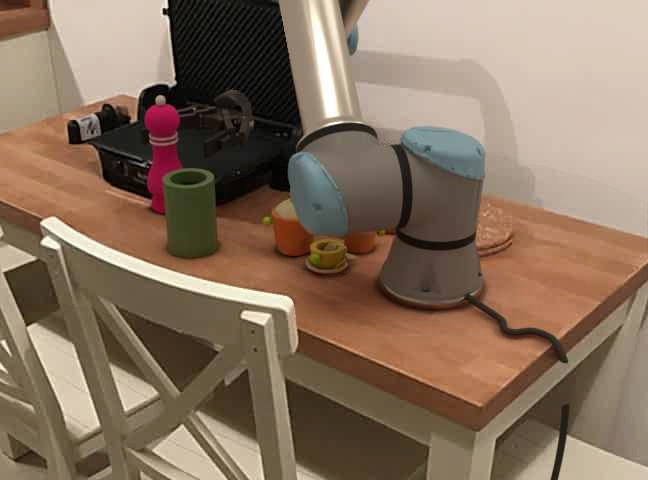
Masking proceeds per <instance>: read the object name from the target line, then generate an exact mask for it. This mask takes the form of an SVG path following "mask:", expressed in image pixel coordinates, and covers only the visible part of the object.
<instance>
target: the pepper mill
mask: <svg viewBox="0 0 648 480" xmlns="http://www.w3.org/2000/svg"><path fill="white" fill-rule="evenodd" d="M166 102H167V101H166V97H165V96H164V95H160V94H159V95H157V96H156V97H155V104H154V105H152V106H150V107H149V108H148V109H147V110H146V112H145V114H144V125H145V127H146V128H147V129H148V130H149V131H150V132H151V133H150V134H149V137H150V140H149V141H150V143H149V144H150V145H152V162H151V166H150V169H149V170H148V171H149V172H148V175H147V180H146V181H147V189H148V191H149V193H150V194H151V195H152V197H151V208H152V210H153V211H155V212H156V213H159V214H165V204H164V192H163V181H162V178H163V177H164V176H165V174H167V173H169V172H172V171H174V170H179V169H184V167H183V165H182V163H181V161H180V159H179V155H178V150H177V143H178V142H179V137H178V135H179V132H178V131H177V130H176V129H177V128H178V126H179V124H180V118H179V114H178V112H177V110H178V109H176V108H175V107H174V106H173V105H171V104H167V103H166Z"/></svg>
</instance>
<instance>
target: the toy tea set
mask: <svg viewBox="0 0 648 480" xmlns="http://www.w3.org/2000/svg"><path fill="white" fill-rule="evenodd" d="M262 225H263V226H264V227H270V226H272V227H273V231H274V239H275V245H276V249H277V251H278V252H279V253H280V254H283V255H285V256H289V257H290V256H292V257H296V256H297V257H298V256H303V255H306V254H308V253H310V255H308V257H306V259H305V266H306V268H307V269H309V270H310V271H312V272H315V273H318V274H336V273H339V272H342V271H343V270H345V269H346V268H347V267H348V265H349V263H354V262H356V259H357V258H356V256H355V255H354V254H366V253H368V252H370V251H372V250H373V248H374V245H375V241H376V237H377V236H378V237H383V236H384V235H385V234H386V233H387V234H395V231H396V229H393V230H383V231H374V232H366V233H357V234H349V235H343V236H341V237H338V239H339V240H337V239H332V238H331V239H330V238H323V239H318V240H315V241H314V238H315V236H314V235H311V234H310V233H308V232H307V231H306V230H305V229H304V228H303V226H302V225H301V223H300V221H299V219H298V217H297V215H296V212H295V209H294V206H293V202H292V198H291V195H290V196H289V198H288V199H285V200H283V201H282V202H280V203H279V204H278V205H276V206H274V207H273V209H272V210H271V217H269V216H265V217H263V220H262ZM340 240H343V241H344V242H342V241H340ZM347 251H349V252H351V253H348V252H347ZM352 253H353V254H352Z"/></svg>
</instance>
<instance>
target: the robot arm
mask: <svg viewBox="0 0 648 480" xmlns="http://www.w3.org/2000/svg"><path fill="white" fill-rule="evenodd" d="M273 1H274V2H276V3H278V5H279V11H280V12H281V16H282V21H283V26H284V32H285V37H286V42H287V48H288V53H289V59H290V61H289V63H290V69H291V75H292V79H293V86H294V90H295V95H296V100H297V106H298V107H297V108H298V111H299V117H300V122H301V127H302V134H303V136H302V137H301V138H300V140H299V141H298V142H297V143H296V146H295V153H294V154H292V156H291V157H290V158H289V161H288V165H287V167H288V168H287V179H288V183H289V186H290V188H289V193H290V196H291V198H292V202H293V206H294V209H295V212H296V215H297V217H298V219H299V221H300V223H301V225H302V226H303V228H304V229H305V230H306V231H307V232H308V233H310V234H311V235H314V237H331V236H332V237H338V238H339V237H341V236H343V235H349V234H357V233H366V232H374V231H383V230H393V229H396V231H395V233H394V237H393V240H392V243H391V246H390V248H389V251H388V254H387V256H386V259H385V260H384V262H383V264H382V266H381V269H380V272H379V273H380V274H379V287H380V289H381V291H382V292H383V294H385V295H386V296H387V297H388V298H390V299H391V300H393V301H395V302H397V303H400V304H402V305H404V306H408V307H412V308H417V309H424V310H449V309H455V308H458V307H459V308H460V307H462V306H463V307H464V306H466V305H469V304H471V305H472V306H474V307H475V308H477V309H478V310H480V311H482V312H483V313H484V314H486V315H487V316H489V317H490V318H492V319H494V320H495V321H496V322H497V323H498V324H499V330H500V332H501V333H502V334H504V335H507V336H510V337H520V336H529V335H530V336H535V337H539V338H542V339H544V340H546V341H548V342H549V343H550V344H551V345H552V347H553V349H554V351H555V353H556V355H557V357H558V359H559V362H560V363H562V364H568V363H569V359H568V356H567V353H566V351H565V349H564V347H563V346H562V344H561V342H560V340H559V339H558V338H557V336H555V335H553V334H552V333H550V332H548V331H546V330H544V329H540V328H536V327H529V326H528V327H521V328H511V327H508V322H507V320H506V318H505V317H503V316H502V315H501V314H500V313H498V312H497V311H496V310H494V309H492V308H491V307H489V306H488V305H486V304H485V303H484V302H482V301H481V300H480V299H478V298H479V297H480V295H481V293H482V290H483V285H484V274H483V273H484V272H483V269H482V265H481V260H480V259H481V258H480V255H479V250H478V246H477V240H476V239H477V232H478V231H477V230H478V224H479V218H480V217H479V216H480V209H481V201H482V195H483V187H484V180H485V179H486V172H485V168H486V167H485V165H486V150H485V147H484V146H483V144H482V143H481V142H480V141H479V140H478V139H476V138H475V137H473V136H472V135H469V134H467V133H465V132H462V131H459V130H456V129H452V128H447V127H441V126H433V125H432V126H431V125H420V126H419V125H418V126H413V127H410V128H407V129H405V130H404V131H403V133H402V134H401V136H400V143H396V144H385V145H384V144H383V145H380V142H379V137H378V133H377V130H376V128H375V127H374V126H372V124H370V123H367V122H366V121H364V120H363V119H364V118H363V114H362V109H361V105H360V99H359V95H358V90H357V85H356V79H355V75H354V70H353V65H352V61H351V56H353V55H355V53H356V52H357V49H358V44H359V38H360V37H359V26H358V22H359V20H360V18H361V17H362V15H363V13H364V11H365V9H366V7H367V6H368V4H369V2H370V0H273ZM229 90H230V91H229ZM229 90H227V91H225V92H223V93H221V94H219V95H218V96H216V98H214V100H213V102H212V103H211V106H208V107H206V108H201V109H199V106H198V105H197V104H193V105H191V106H188V107H185V108H180V109H176V110H177V112H178V114H179V118H180V124H179V126H178V128H177V129H176V131H182V130H183V131H184V130H190V129H195V130H197V131H201V130H202V131H203V130H217V131H219V130H220V132H218V133H216V134H215V135H213V136H211V137H209V138H207V139H206V140H204V141H203V142H202V145H203V157H204V158H207V159H208V158H210V157H212V156H213V155H216V154H217V153H218V152H220V151H222V150H223V149H227V148H228V147H230V146H231V147H234V146H236V145H237V144H239V146H240V147H246V146H247V144H248V139H249V136H250V133H251V132H252V131H253V130H254V129H255V125H254V124H255V122H254V116H253V115H252V108H251V104H250V102H249V100H248V98H247V97H246V96H245V95H244V94H243V93H241V92H240V91H237V90H231V89H229ZM200 118H201V124H200ZM139 132H140V141H141V145H142V146H147V145H148V144H151V143H150V141H149V140H150V137H149V134H150V133H151V132H150V131H149V130H148V129H147V128H146V126H145V127H143V128H141V129H140V131H139ZM235 132H237V133H235ZM570 404H571V403H569V402H568V403H566V404H563V405H561V410H560V411H561V412H560V425H559V433H558V441H557V447H556V453H555V458H554V462H553V467H552V471H551V476H550V480H559V479H560V473H561V469H562V464H563V459H564V455H565V449H566V444H567V437H568V429H569V419H570Z"/></svg>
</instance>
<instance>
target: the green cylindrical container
mask: <svg viewBox="0 0 648 480" xmlns="http://www.w3.org/2000/svg"><path fill="white" fill-rule="evenodd" d="M162 181H163V192H164V204H165V213H164V214H165V224H166V225H165V226H166V237H167V247H168V248H167V249H168V251H169V252H170V253H171V254H172V255H174V256H178V257H179V258H185V259H187V258H189V259H192V258H201V257H205V256H208V255H211V254H212V253H214V252H215V251H216V250H218V246H219V245H218V244H219V242H218V241H219V240H218V239H219V238H218V224H217V223H218V221H217V203H216V186H215V184H216V183H215V175H214V173H212V172H211V171H210V170H207V169H203V168H194V167H189V168H188V167H187V168H183V169H179V170H174V171H172V172H169V173H167V174H165V176H164V177H163V178H162Z"/></svg>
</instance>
